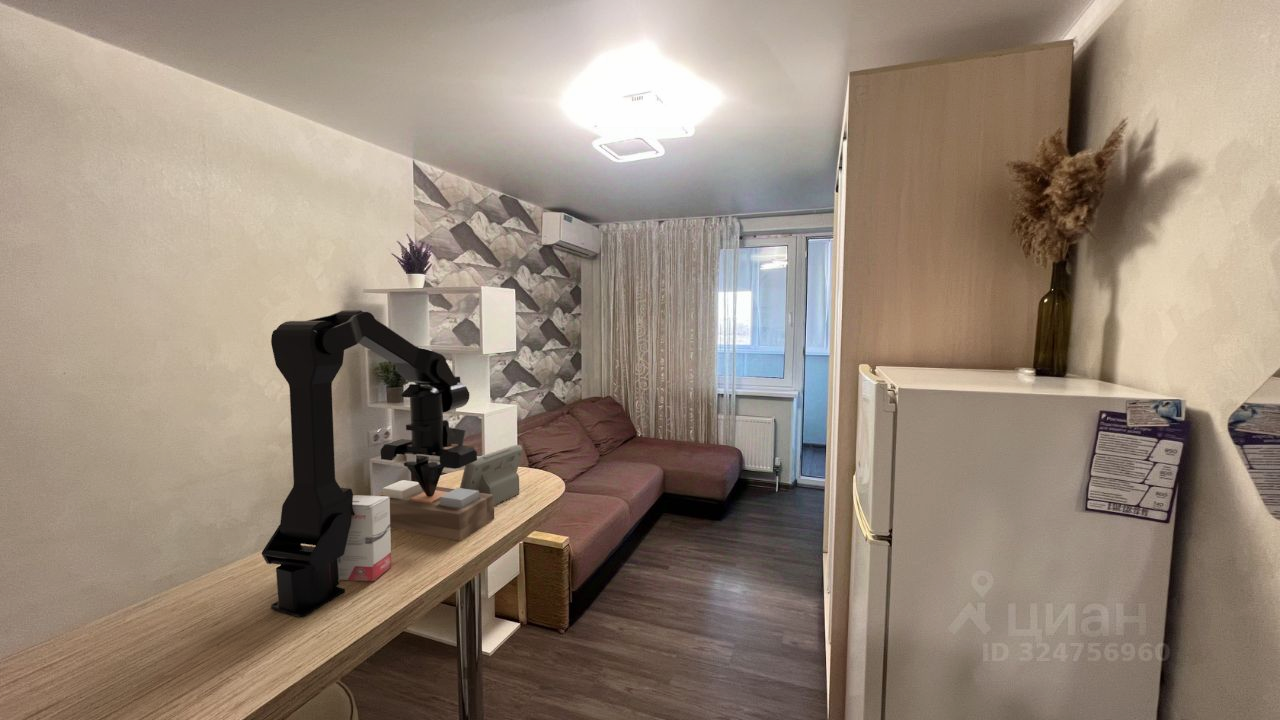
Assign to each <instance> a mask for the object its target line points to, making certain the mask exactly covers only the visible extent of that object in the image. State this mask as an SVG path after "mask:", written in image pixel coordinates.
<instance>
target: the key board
mask: <svg viewBox="0 0 1280 720" xmlns="http://www.w3.org/2000/svg"><path fill="white" fill-rule="evenodd" d="M454 489H455V488H450V487H443V486H437V487H436V490H437V491H443V492H450V491H452V490H454ZM423 492H424V491H423V489H422V491H420V492H418V493H415V494H413V495H411V496H409V497H407V498H405V499H397V498H391V497H390V529H393V530H398V531H399V530H400V531H403V530H405V531H404V532H408V531H410V532H409V533H414V532H416V534H419V533H422V534H421V535H425V534H427V535H426V536H430V535H432V536H431V537H435V536H436V537H437V538H442V539H445V540H447V539H448V540H452V541H457V542H462V541H463V540H465V539H466V538H467V537H469V536H470V535H472V534H474V533H475V532H477V531H478V530H480V529H481V528H483V527H484V526H486V525H488V524H489V523H491V522H492V521H493V520H495V505H494V495H492V494H485V493H479V500H477V501H475V502H473V503H472V504H470V505H468V506H466V507H464V508H463V509H460V508H454V507H447V506H441V505H440V500H439V501H437V502H435V503H433V504H429V503H422V502H416V501H411V498H413V497H415V496H417V495H419V494H421V493H423ZM374 496H383V491H382V492H380V493H377V494H375V495H374ZM436 537H435V538H436Z"/></svg>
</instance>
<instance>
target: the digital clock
mask: <svg viewBox="0 0 1280 720" xmlns="http://www.w3.org/2000/svg"><path fill="white" fill-rule="evenodd" d="M522 454H523V447H522V445H520V444H514V445H509V446H507V447H506V446H505V447H503V448H501V449H497V450H495V451H492V452H489V453H486V454H483V455H480V456H477V460H476V461H474V462H472V463H470V464H467V465H465V466H464V470H463V473H462V477H461V482H460V485H459V488H463V489H470V490H477V491H479V493H485V494H492V495H494V506H496V505H498V503H499V504H500V502H501V503H503V502H505V501H506V499H507V500H509V499H511V498H514V497H515V495H516V496H518V495H520V475H519V474H518V469H519V465H520V462H521V458H522ZM517 494H518V495H517ZM504 500H505V501H504ZM502 501H503V502H502ZM495 504H496V505H495Z"/></svg>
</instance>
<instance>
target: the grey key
mask: <svg viewBox="0 0 1280 720" xmlns="http://www.w3.org/2000/svg"><path fill="white" fill-rule="evenodd" d="M453 489H454V490H452V491H450V492H448V493H446V494H444V495H442V496H440V505H441V506H447V507H454V508H460V509H463V508H464V507H466V506H468V505H470V504H472V503H473V502H475V501H477V500H479V491H477V490H470V489H463V488H460V487H456V488H453Z"/></svg>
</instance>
